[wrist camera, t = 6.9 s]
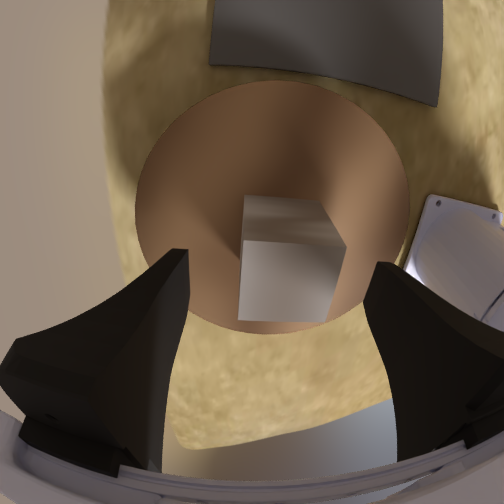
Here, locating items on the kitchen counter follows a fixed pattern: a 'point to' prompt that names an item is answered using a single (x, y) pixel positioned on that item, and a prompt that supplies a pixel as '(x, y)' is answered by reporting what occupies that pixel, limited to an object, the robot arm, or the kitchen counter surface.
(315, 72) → the mat
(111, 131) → the kitchen counter surface
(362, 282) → the lid
